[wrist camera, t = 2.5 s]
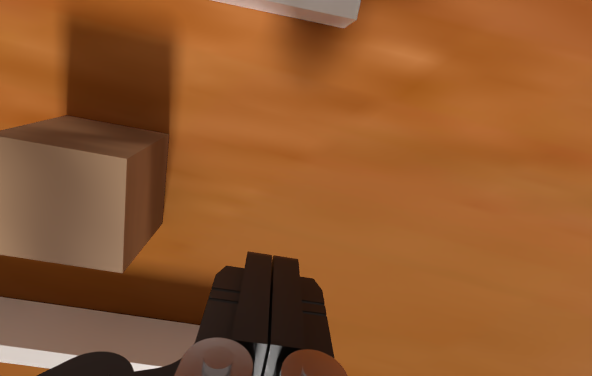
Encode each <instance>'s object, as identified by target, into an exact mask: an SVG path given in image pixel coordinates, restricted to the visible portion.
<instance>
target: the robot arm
mask: <svg viewBox="0 0 592 376" xmlns="http://www.w3.org/2000/svg"><path fill="white" fill-rule="evenodd" d="M37 376H347V374H346V372H345V370H344V368H343V367H342V366H341V365H340V363H338V362H337V361H336V360H335V359H334V354H333V348H332V343H331V337H330V332H329V326H328V320H327V317H326V309H325V306H324V298H323V292H322V290H321V288H320V287H319V286H318V284H317V283H316V282H315V280H314V279H312V278H305V277H300V275H299V263H298V259H293V258H287V257H281V256H273V259H272V255H267V254H261V253H254V252H248V253H247V258H246V264H245V268H238V267H232V266H226V267H224V268H223V269H222V270H221V271H220V272H219V273H217V274H216V276H215V279H214V282H213V286H212V290H211V292H210V295H209V299H208V302H207V305H206V308H205V311H204V314H203V318H202V321H201V324H200V327H199V331H198V334H197V337H196V340H195V343H194V345H192V346H191V347H190V348H189V349H188V350H187V351H186V352H185V353H184V355H183V357H182V358H181V359H179V360H178V361H176V362H174V363H172V364H169V365H166V366H163V367H159V368H154V369H147V370H140V371H134V369H133V367H132V365H131V363H130V362H129V361H128V360H127V359H126V358H125V357H123V356H121V355H119V354H116V353H113V352H105V351H98V352H90V353H85V354H82V355H79V356H76V357H74V358H72V359H69V360H67V361H65V362H63V363H61V364H59V365H57V366H55V367H53V368H51V369H49V370H47V371H45V372H43V373H41V374H39V375H37Z"/></svg>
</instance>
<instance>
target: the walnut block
mask: <svg viewBox="0 0 592 376" xmlns="http://www.w3.org/2000/svg"><path fill="white" fill-rule="evenodd" d="M168 143H169V134H166V133H160V132H155V131H149V130H144V129H139V128H133V127H128V126H122V125H117V124H111V123H106V122H100V121H95V120H89V119H84V118H78V117H73V116H67V115H66V116H62V117H57V118H53V119H49V120H44V121H40V122H36V123H31V124H27V125H23V126H19V127H14V128H10V129H6V130H1V131H0V255H6V256H12V257H19V258H25V259H32V260H39V261H45V262H52V263H58V264H65V265H72V266H78V267H85V268H91V269H98V270H105V271H111V272H118V273H123V272H124V271H125V270H126V268H127V267H128V266H129V265H130V263H131V262H132V261H133V260H134V258H135V257H136V256H137V255H138V253H139V252H140V251H141V250H142V248H143V247H144V246H145V245H146V243H147V242H148V241H149V240H150V238H151V237H152V236H153V235H154V233H155V232H156V231H157V229H158V228H159V227H160V226H161V224H162V222H163V208H164V195H165V182H166V169H167V156H168Z"/></svg>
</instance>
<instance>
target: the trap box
mask: <svg viewBox="0 0 592 376" xmlns="http://www.w3.org/2000/svg"><path fill="white" fill-rule="evenodd" d="M212 1H217V2H222V3H226V4H231V5H236V6H241V7H245V8H250V9H255V10H260V11H264V12H269V13H274V14H278V15H283V16H288V17H293V18H297V19H302V20H307V21H312V22H316V23H321V24H326V25H330V26H335V27H340V28H345V27H347V26H348V25H350V24H351V23H353V22H354V21H356V20H357V16H358V11H359V7H360V2H361V0H212ZM199 327H200V325H194V324H187V323H180V322H173V321H166V320H159V319H152V318H145V317H138V316H131V315H124V314H117V313H110V312H103V311H96V310H89V309H82V308H75V307H68V306H61V305H54V304H47V303H40V302H33V301H26V300H19V299H12V298H5V297H0V362H4V363H12V364H19V365H27V366H35V367H43V368H50V369H51V368H53V367H55V366H57V365H59V364H61V363H63V362H65V361H67V360H69V359H72V358H74V357H76V356H79V355H82V354H85V353H90V352H98V351H105V352H113V353H116V354H119V355H121V356H123V357H125V358H126V359H127V360H128V361H129V362H130V363H131V365H132V367H133V369H134V371H140V370H147V369H154V368H159V367H163V366H166V365H169V364H172V363H174V362H176V361H178V360H179V359H181V358H182V357H183V355H184V353H185V352H186V351H187V350H188V349H189V348H190V347H191V346H192V345H194V343H195V340H196V337H197V334H198V331H199Z"/></svg>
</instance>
